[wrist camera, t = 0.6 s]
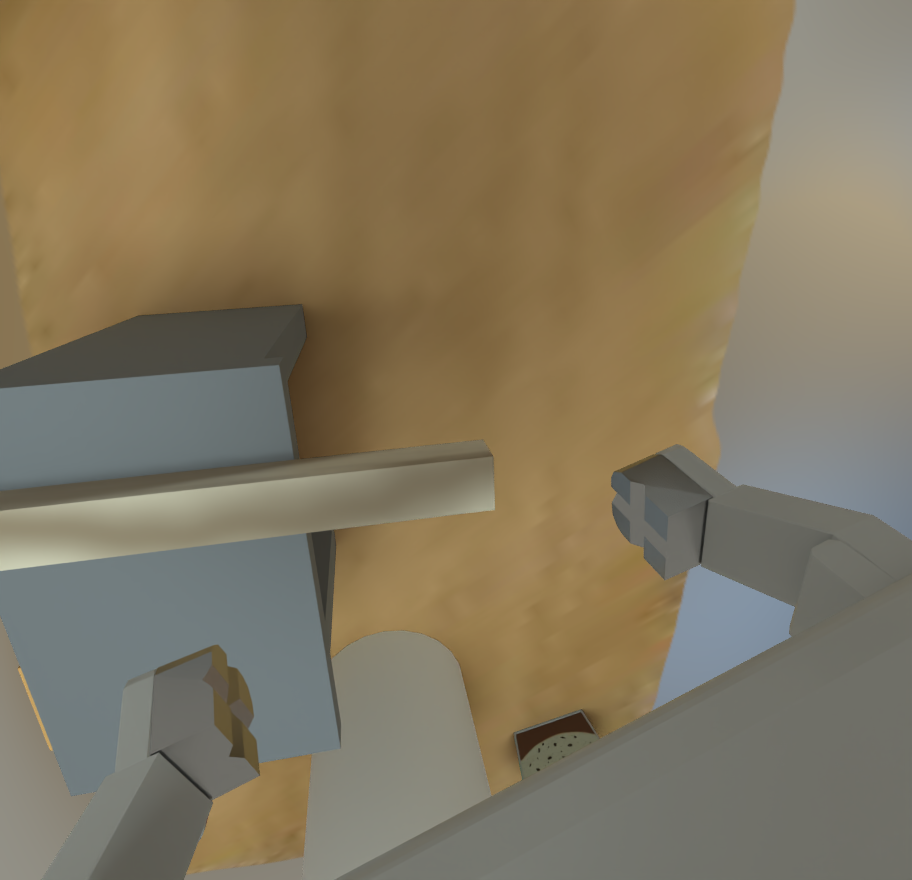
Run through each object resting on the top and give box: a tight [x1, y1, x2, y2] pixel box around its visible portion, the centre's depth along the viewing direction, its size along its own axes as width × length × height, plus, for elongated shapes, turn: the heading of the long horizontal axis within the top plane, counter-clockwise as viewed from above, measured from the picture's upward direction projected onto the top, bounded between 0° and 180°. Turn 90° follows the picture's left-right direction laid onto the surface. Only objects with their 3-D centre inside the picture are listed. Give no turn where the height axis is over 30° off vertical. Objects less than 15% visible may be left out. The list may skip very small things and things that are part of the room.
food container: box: [514, 709, 600, 780], centre depth 71 cm, size 12×6×10 cm, turn 105°
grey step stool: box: [0, 304, 341, 796], centre depth 43 cm, size 25×16×26 cm, turn 3°
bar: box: [0, 440, 495, 571], centre depth 29 cm, size 3×26×2 cm, turn 93°
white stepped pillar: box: [302, 631, 491, 880], centre depth 55 cm, size 17×17×28 cm
